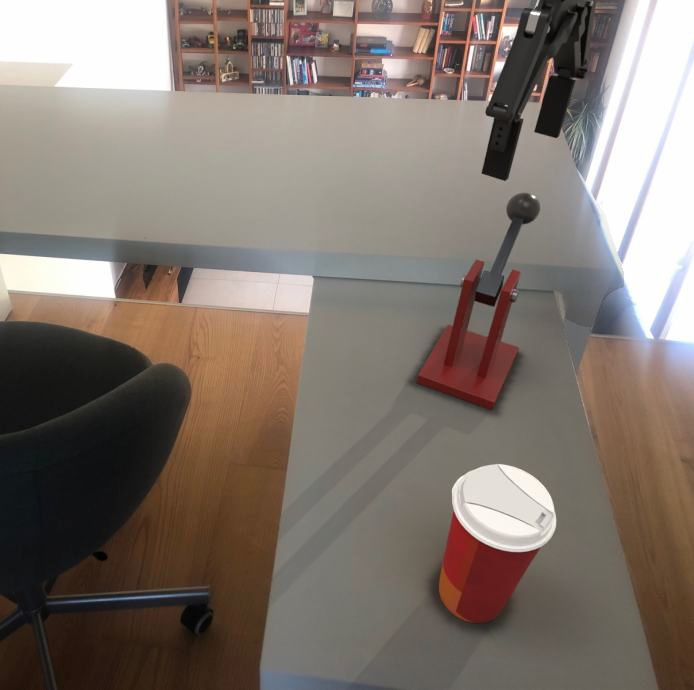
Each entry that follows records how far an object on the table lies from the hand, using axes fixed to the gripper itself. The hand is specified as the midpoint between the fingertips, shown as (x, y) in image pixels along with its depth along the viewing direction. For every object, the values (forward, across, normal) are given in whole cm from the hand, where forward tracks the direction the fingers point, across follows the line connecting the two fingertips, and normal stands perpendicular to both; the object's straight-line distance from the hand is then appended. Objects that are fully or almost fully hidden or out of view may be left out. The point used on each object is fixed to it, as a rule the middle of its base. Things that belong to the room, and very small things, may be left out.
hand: (521, 154), depth 78 cm
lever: (+9, +5, +3) cm, 11 cm away
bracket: (+22, +11, +4) cm, 25 cm away
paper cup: (+23, +38, +18) cm, 48 cm away
